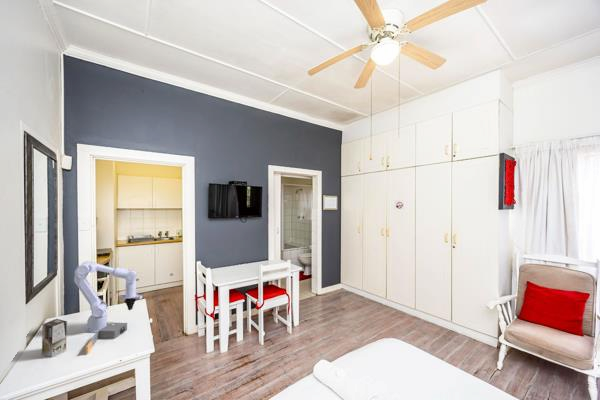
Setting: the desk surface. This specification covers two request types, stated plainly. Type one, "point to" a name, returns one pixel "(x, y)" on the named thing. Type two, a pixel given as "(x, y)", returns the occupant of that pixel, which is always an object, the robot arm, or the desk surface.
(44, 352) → the coffee box
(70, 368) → the desk surface
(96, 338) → the side door
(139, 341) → the desk surface
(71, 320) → the desk surface
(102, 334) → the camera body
